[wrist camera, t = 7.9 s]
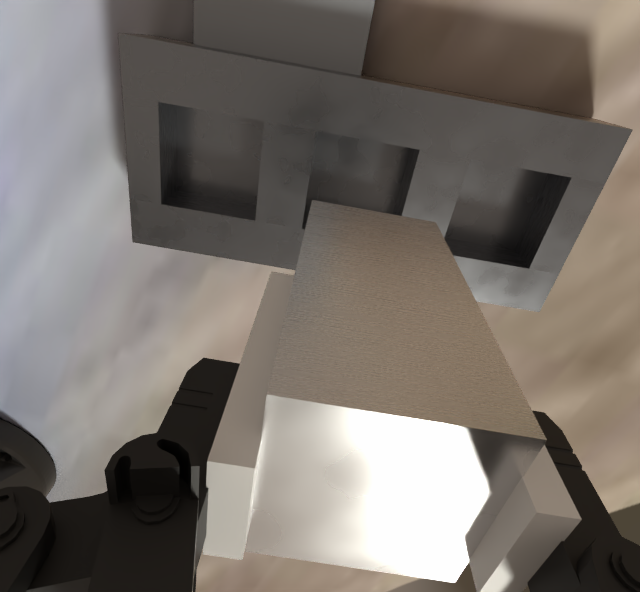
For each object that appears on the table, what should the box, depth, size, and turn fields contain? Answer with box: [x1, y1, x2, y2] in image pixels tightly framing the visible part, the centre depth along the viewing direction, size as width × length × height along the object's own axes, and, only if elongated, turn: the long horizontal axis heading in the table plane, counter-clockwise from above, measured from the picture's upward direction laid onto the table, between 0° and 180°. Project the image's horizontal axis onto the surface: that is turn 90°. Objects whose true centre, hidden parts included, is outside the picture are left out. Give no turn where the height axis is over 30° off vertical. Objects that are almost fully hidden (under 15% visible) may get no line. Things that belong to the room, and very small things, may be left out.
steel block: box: [245, 200, 547, 583], centre depth 12 cm, size 5×5×10 cm
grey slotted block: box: [118, 33, 632, 312], centre depth 27 cm, size 28×12×4 cm, turn 81°
